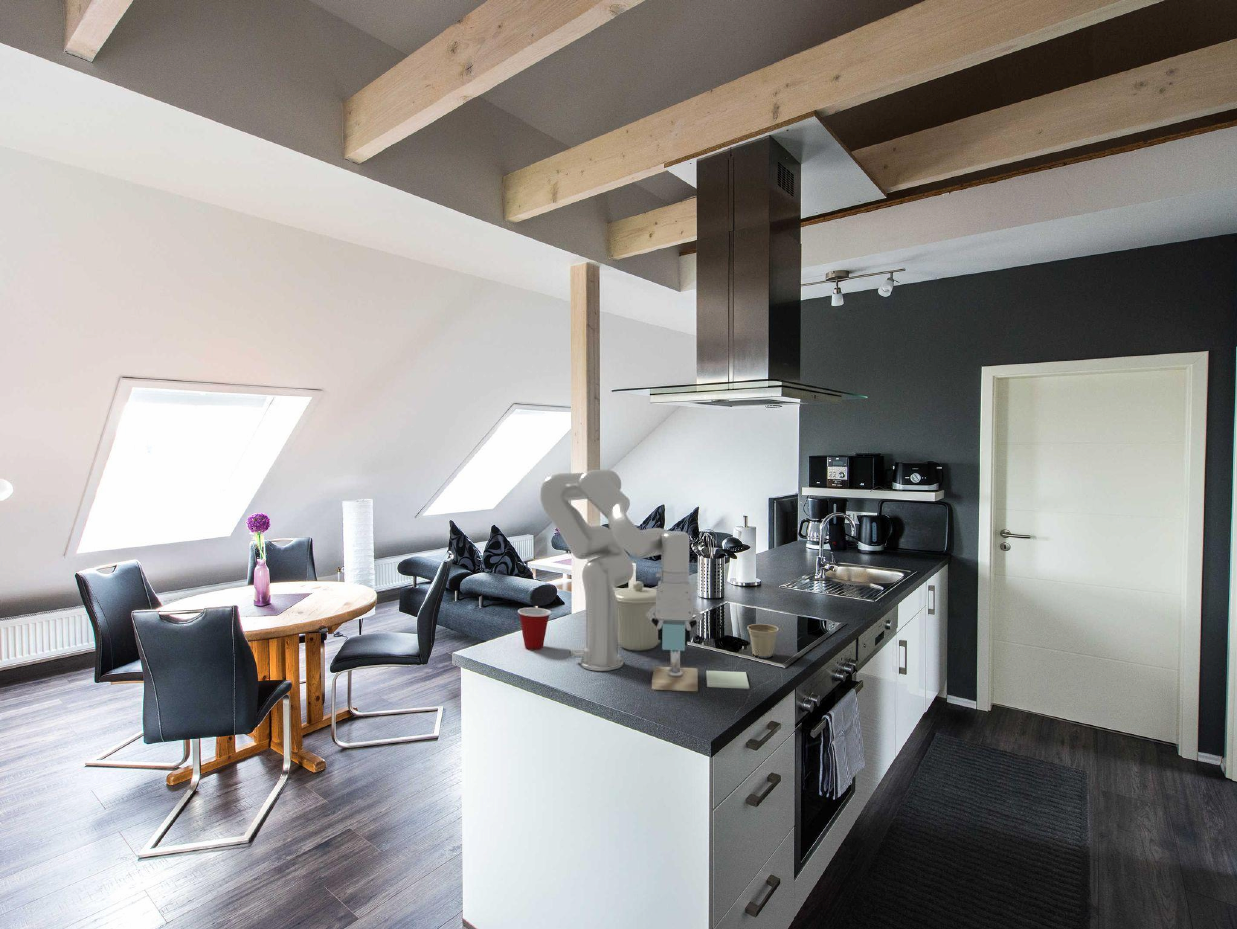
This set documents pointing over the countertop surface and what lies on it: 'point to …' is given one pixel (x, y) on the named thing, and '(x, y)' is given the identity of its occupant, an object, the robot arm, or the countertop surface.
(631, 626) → the canister
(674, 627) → the light blue upright block
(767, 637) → the flower pot
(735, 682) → the mat
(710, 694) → the countertop surface
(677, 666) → the post
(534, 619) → the plastic cup
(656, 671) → the post base
